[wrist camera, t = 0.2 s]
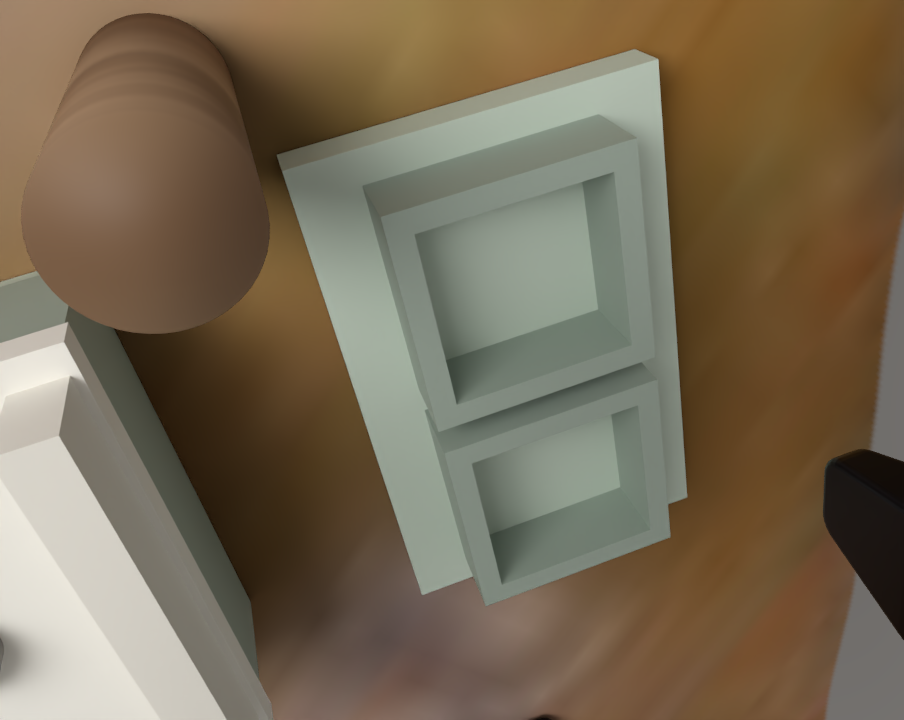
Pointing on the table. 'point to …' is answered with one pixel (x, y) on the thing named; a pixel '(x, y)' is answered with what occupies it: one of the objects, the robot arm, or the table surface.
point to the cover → (98, 563)
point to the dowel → (147, 183)
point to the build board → (509, 320)
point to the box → (136, 437)
